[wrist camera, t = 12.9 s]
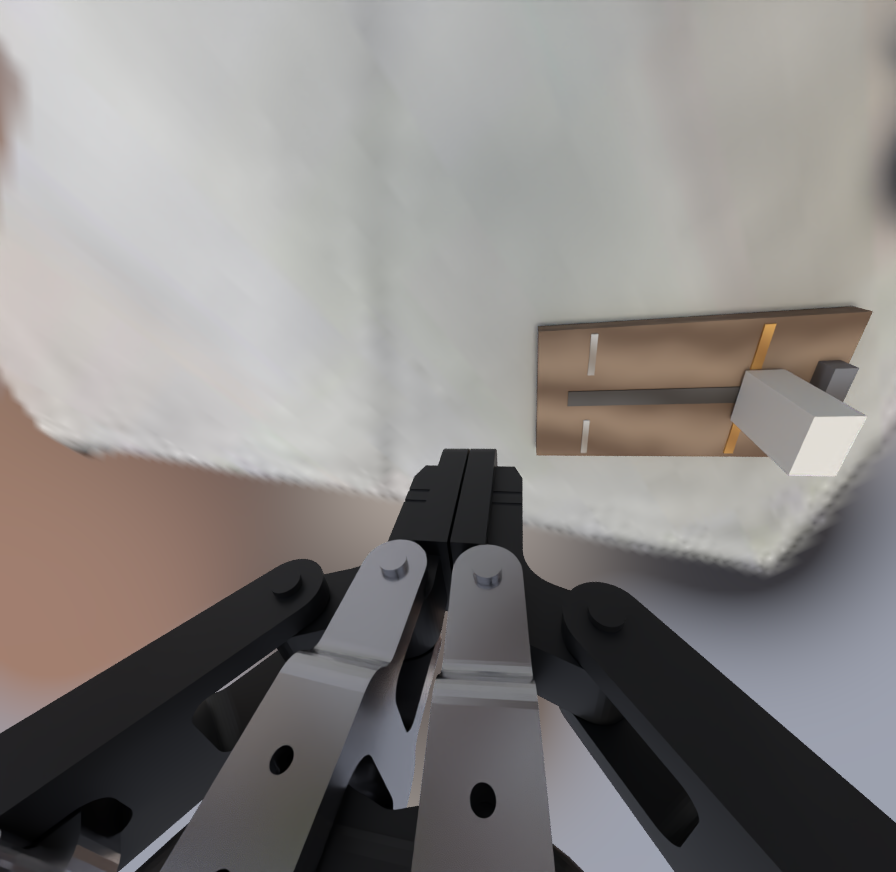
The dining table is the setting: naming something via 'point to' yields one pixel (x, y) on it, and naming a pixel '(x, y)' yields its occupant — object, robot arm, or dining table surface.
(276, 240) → the dining table surface
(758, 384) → the slider tab
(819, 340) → the board
